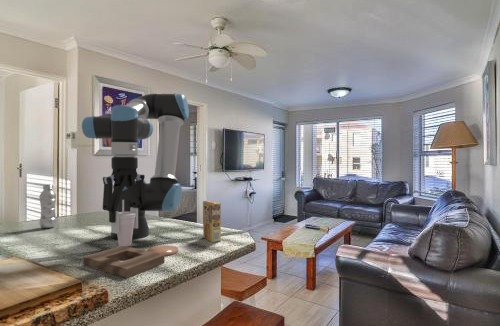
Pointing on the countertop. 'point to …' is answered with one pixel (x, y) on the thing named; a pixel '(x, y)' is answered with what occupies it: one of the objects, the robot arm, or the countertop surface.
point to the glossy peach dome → (164, 250)
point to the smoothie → (125, 227)
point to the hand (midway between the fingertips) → (125, 230)
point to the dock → (128, 268)
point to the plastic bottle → (47, 207)
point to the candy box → (212, 221)
